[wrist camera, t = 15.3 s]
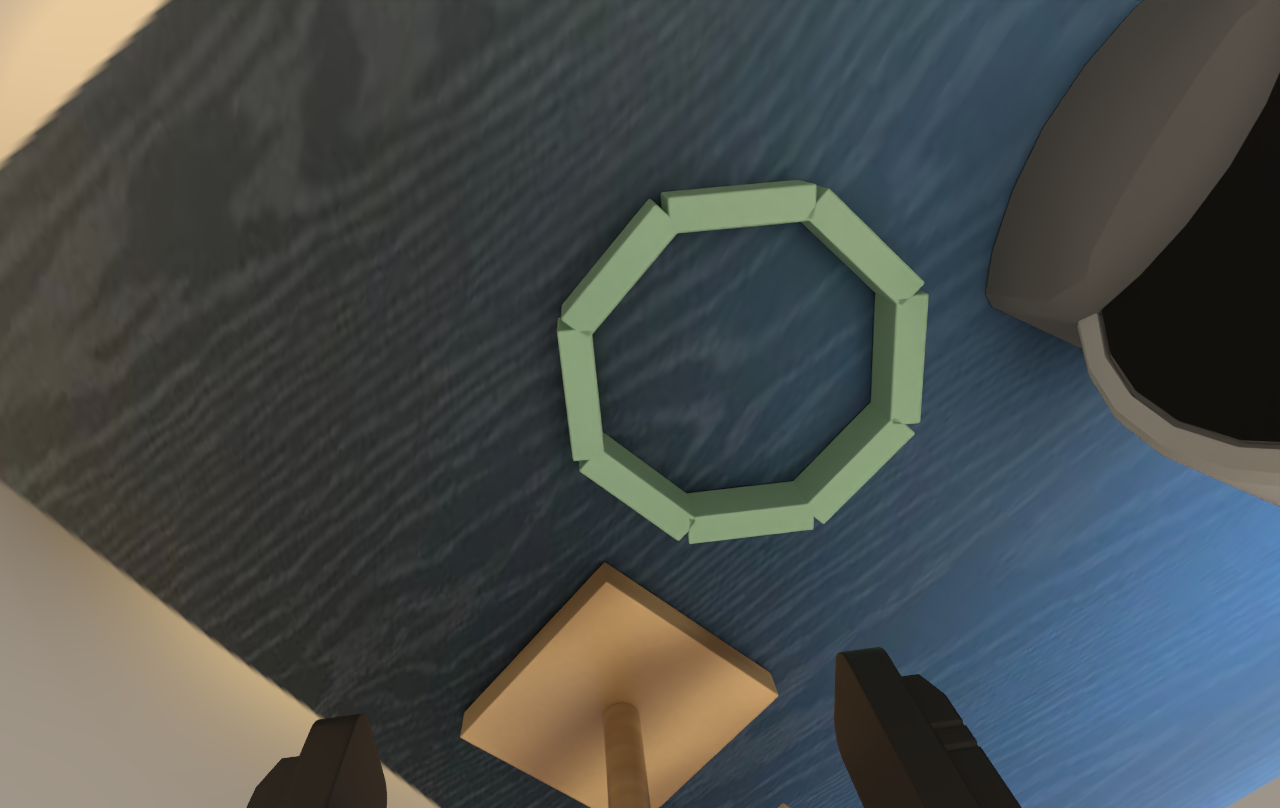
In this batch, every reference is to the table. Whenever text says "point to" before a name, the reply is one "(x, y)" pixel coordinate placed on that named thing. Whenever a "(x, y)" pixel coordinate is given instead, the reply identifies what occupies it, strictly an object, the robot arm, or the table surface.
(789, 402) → the table surface
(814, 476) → the hoop
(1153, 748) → the table surface
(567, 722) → the peg stand
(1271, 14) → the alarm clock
